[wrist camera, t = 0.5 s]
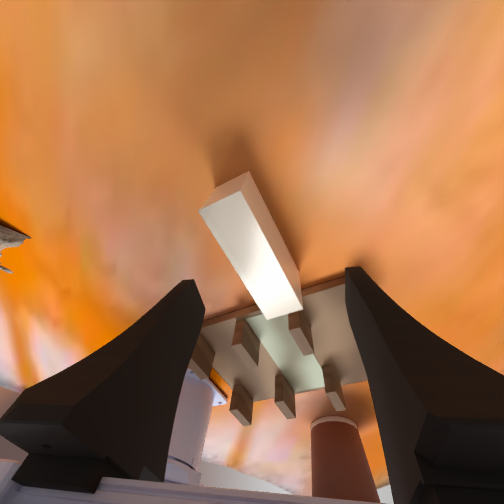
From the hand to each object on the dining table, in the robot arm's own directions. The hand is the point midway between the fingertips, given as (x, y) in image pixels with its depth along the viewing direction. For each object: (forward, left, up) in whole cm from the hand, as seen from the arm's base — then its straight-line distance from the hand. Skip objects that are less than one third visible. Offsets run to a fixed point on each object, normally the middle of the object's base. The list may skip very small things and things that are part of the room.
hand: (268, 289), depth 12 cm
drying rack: (-5, -15, -10) cm, 19 cm away
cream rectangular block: (-2, -1, -10) cm, 10 cm away
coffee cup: (-6, -33, -10) cm, 35 cm away
